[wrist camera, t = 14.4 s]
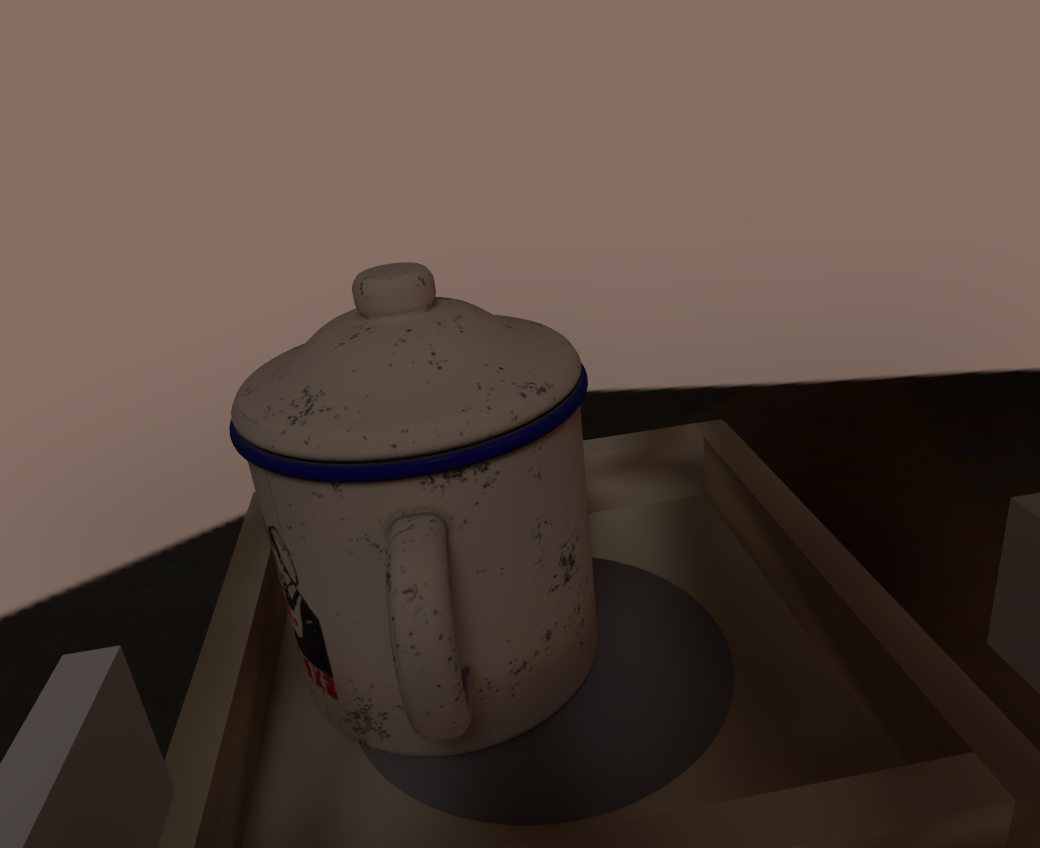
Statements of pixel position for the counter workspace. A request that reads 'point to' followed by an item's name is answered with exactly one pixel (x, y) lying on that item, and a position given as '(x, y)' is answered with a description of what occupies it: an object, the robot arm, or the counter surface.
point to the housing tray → (635, 699)
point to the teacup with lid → (427, 515)
